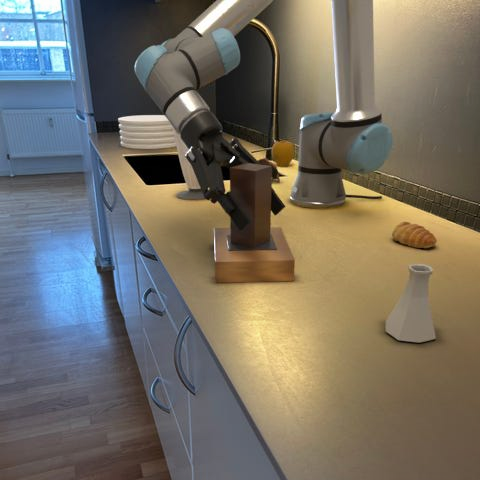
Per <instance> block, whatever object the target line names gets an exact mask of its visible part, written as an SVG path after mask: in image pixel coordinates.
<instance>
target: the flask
mask: <svg viewBox="0 0 480 480" xmlns="http://www.w3.org/2000/svg"><path fill="white" fill-rule="evenodd" d="M408 272H409V275H408V279H407V282H406V285H405V288H404V291H403V292H402V294H401V296H400V297H399V300H398V301H397V303H396V305H395V306H394V308H393V310H392V311H391V313H389V316H388V317H387V319H386V321H385V324H384V325H385V332H386V333H387V334H389V335H390V336H392V337H393V338H395V339H396V340H397V341H400V342H401V341H402V342H410V343H411V342H412V343H418V344H419V343H425V342H428V341H433V340H436V339H437V335H436V330H435V326H434V322H433V321H434V320H433V317H432V311H431V304H430V299H429V282H430V276H431V275H433V273H434V270H433V267H432V266H429V265H427V264H424V263H414V264H412V263H411V264H409V265H408Z"/></svg>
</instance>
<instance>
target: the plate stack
mask: <svg viewBox="0 0 480 480" xmlns="http://www.w3.org/2000/svg"><path fill="white" fill-rule="evenodd" d="M117 122H118V123H119V124H118V128H119V129H120V130H119V135H120V136H119V140H120V146H121V147H123V148H127V149H135V150H157V149H158V150H159V149H168V148H174V147H175V148H177V146H176V141H175V135H174V129H173V126H172V125H171V123H170V122H169V121H168V119H167V118H166V117H165V115H164V114H143V115H141V114H140V115H127V116H121V117H118V118H117Z"/></svg>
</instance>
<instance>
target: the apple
mask: <svg viewBox="0 0 480 480" xmlns="http://www.w3.org/2000/svg"><path fill="white" fill-rule="evenodd" d="M270 151H271V156H272V159H273V161H274V163H275V165H277V166H280V167H288V166H289V165H290V164H291V163H292V161H293V159H294V157H295V146H294V145H293V143H292V142H291V141H286V140H281V141H275V143H274V144H273V145H272V147H271V150H270Z"/></svg>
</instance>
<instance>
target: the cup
mask: <svg viewBox="0 0 480 480" xmlns="http://www.w3.org/2000/svg"><path fill="white" fill-rule="evenodd" d="M173 129H174V128H173ZM174 135H175V141H176V150H177V156H178V159H179V164H180V168H181V171H182V176H183V177H184V178H183V179H184V181H185V184H186V187H187V190H183V191H179V192H178V193H176V195H175V196H176V197H177V198H178V199H181V200H186V201H201V200H206V199H205V198H204V195H203V193H202V190H201V188H200V185H199V183H198V180H197V178H196V175H195V173H194V170H193V168H192V165H191V164H190V163H189V161H188V160H187V158H186V157H185V155H186V154H187V153H188V151H189V149H188V148H187V146H186V145H185V143H184V142H183V141H182V139H181V135H179V134H178V133H177V132H176V130H175V129H174Z"/></svg>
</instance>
